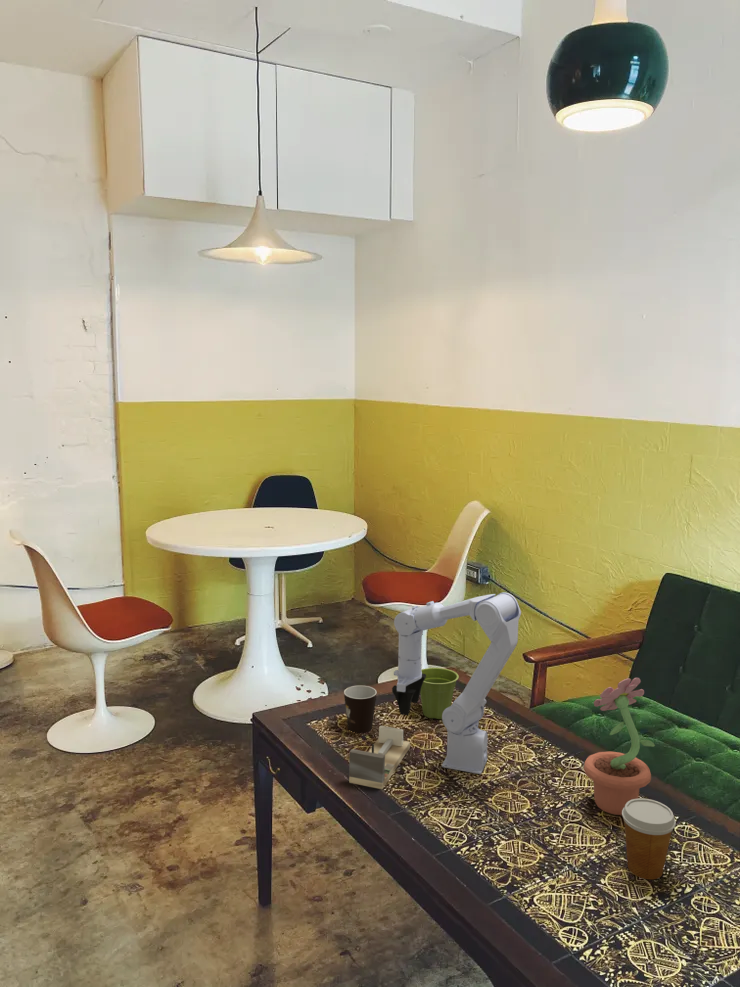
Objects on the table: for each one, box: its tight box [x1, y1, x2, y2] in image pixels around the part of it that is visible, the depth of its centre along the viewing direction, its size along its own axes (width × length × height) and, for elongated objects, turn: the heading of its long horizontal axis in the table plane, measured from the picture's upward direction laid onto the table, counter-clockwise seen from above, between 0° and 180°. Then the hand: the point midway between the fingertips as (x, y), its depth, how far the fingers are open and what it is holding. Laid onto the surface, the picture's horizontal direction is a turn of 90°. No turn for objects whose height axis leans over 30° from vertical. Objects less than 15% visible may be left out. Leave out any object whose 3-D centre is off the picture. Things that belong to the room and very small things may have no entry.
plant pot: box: [419, 667, 460, 720], centre depth 212 cm, size 12×12×11 cm
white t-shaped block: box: [378, 725, 404, 755], centre depth 188 cm, size 8×6×4 cm
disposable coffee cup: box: [621, 797, 677, 880], centre depth 146 cm, size 10×10×12 cm
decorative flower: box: [583, 677, 656, 816], centre depth 166 cm, size 15×14×30 cm
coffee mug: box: [343, 685, 378, 734], centre depth 205 cm, size 12×9×10 cm
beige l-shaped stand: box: [348, 737, 411, 790], centre depth 184 cm, size 21×8×8 cm, turn 160°
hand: (409, 708), depth 194 cm, fingers open, 7 cm apart
